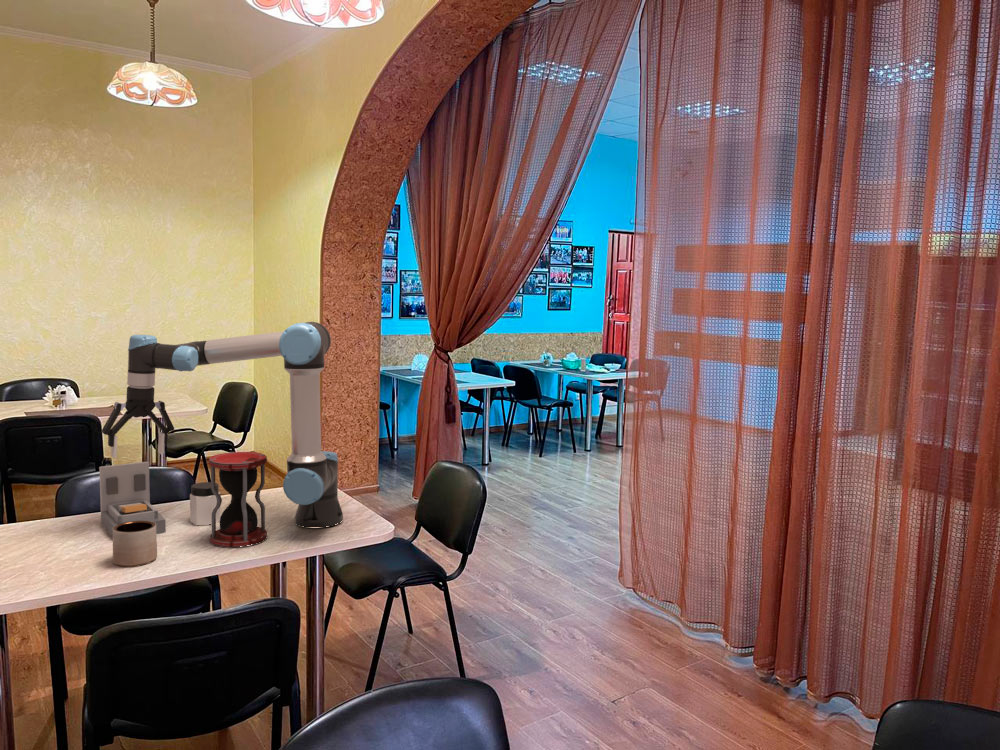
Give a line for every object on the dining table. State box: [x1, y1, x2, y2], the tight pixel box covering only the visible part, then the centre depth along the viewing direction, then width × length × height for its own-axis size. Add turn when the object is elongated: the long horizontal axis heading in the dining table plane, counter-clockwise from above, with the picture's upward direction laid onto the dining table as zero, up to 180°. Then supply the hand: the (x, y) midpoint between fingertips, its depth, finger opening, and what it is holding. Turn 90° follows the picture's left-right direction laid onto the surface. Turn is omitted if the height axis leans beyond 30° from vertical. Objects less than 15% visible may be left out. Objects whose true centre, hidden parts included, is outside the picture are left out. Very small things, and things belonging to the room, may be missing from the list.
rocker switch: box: [118, 503, 147, 513], centre depth 234 cm, size 10×6×2 cm, turn 38°
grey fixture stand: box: [98, 461, 167, 538], centre depth 234 cm, size 20×14×18 cm
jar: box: [189, 481, 221, 526], centre depth 241 cm, size 9×8×12 cm
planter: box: [112, 521, 158, 567], centre depth 207 cm, size 11×11×10 cm
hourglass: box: [208, 451, 268, 548], centre depth 225 cm, size 16×16×25 cm
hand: (137, 455), depth 231 cm, fingers open, 13 cm apart
